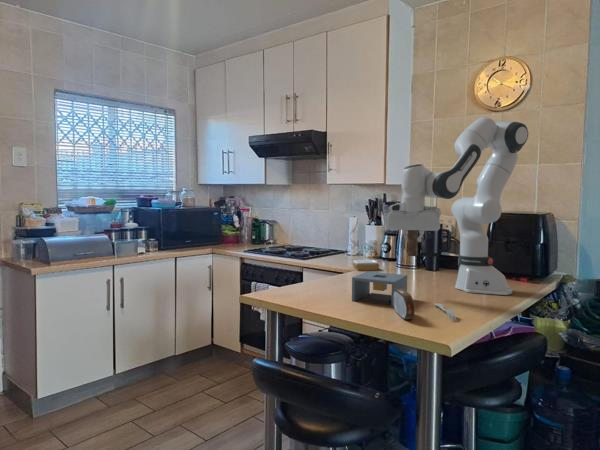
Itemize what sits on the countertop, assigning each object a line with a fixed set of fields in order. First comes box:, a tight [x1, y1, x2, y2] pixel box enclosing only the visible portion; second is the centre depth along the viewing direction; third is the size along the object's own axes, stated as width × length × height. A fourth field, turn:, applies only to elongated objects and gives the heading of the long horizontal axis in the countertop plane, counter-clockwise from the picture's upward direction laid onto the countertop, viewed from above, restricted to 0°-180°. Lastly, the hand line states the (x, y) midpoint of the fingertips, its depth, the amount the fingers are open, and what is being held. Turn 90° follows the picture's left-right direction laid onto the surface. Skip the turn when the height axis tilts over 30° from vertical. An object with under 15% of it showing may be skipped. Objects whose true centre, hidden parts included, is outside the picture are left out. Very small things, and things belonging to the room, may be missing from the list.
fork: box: [433, 302, 458, 322], centre depth 151 cm, size 3×21×3 cm, turn 178°
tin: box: [393, 289, 415, 321], centre depth 146 cm, size 15×3×8 cm, turn 4°
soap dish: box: [351, 259, 380, 272], centre depth 237 cm, size 12×10×5 cm
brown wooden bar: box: [407, 230, 419, 257], centre depth 176 cm, size 3×3×14 cm
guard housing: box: [351, 271, 408, 308], centre depth 168 cm, size 16×16×9 cm
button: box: [372, 282, 388, 292], centre depth 168 cm, size 4×4×3 cm
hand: (413, 241), depth 176 cm, fingers closed on brown wooden bar, 3 cm apart
